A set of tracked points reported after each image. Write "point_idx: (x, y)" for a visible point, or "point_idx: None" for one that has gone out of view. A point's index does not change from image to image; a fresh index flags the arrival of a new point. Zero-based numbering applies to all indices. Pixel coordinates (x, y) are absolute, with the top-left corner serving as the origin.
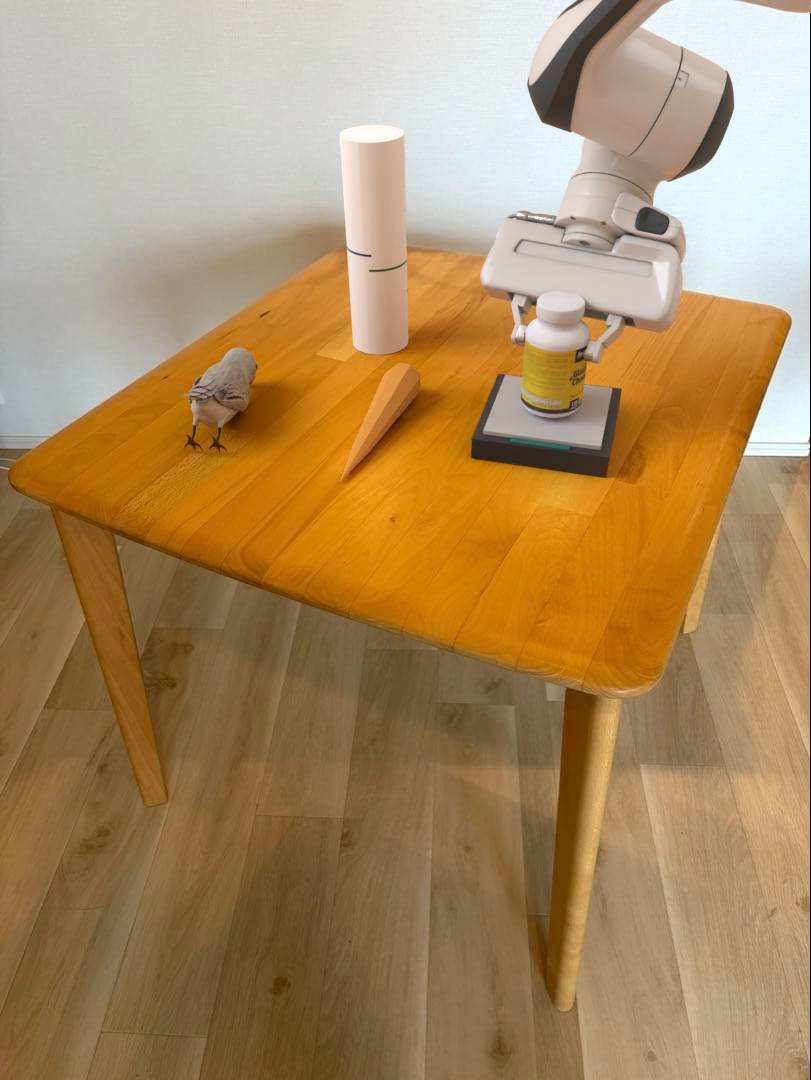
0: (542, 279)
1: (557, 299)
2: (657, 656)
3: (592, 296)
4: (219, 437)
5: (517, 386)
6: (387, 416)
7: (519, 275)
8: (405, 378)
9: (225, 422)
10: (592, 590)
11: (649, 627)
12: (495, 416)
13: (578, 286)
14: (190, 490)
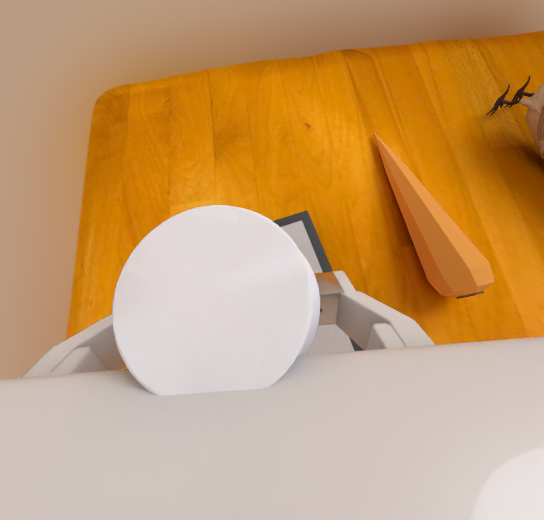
0: (385, 432)
1: (229, 297)
2: (93, 112)
3: (86, 409)
4: (507, 102)
5: (323, 333)
6: (411, 204)
7: (531, 417)
8: (453, 256)
9: (528, 120)
10: (145, 137)
11: (102, 128)
12: (305, 251)
13: (156, 451)
14: (458, 77)
